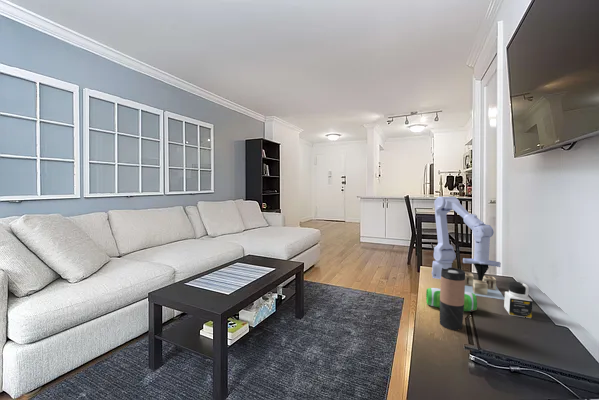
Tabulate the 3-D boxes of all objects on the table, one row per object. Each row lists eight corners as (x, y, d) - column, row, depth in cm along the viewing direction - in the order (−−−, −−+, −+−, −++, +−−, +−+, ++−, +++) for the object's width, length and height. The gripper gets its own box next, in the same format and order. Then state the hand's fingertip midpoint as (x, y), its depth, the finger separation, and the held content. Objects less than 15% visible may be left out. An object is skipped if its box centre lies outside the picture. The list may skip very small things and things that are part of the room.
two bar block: (483, 288, 136) (483, 278, 136) (481, 285, 141) (481, 275, 140) (495, 290, 134) (496, 279, 134) (493, 286, 139) (493, 276, 138)
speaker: (427, 308, 115) (428, 290, 115) (425, 301, 122) (426, 284, 121) (477, 315, 110) (478, 296, 109) (472, 307, 116) (473, 289, 116)
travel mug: (462, 332, 96) (465, 275, 95) (437, 326, 100) (440, 271, 99) (463, 323, 103) (465, 269, 101) (440, 318, 107) (442, 266, 105)
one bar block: (461, 285, 140) (462, 274, 140) (460, 281, 145) (460, 271, 145) (473, 286, 138) (473, 276, 138) (471, 283, 143) (472, 273, 143)
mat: (463, 294, 129) (463, 293, 129) (458, 281, 148) (458, 280, 148) (505, 301, 123) (506, 299, 123) (495, 286, 141) (495, 284, 141)
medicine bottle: (509, 315, 110) (510, 285, 109) (503, 307, 116) (505, 279, 115) (531, 318, 107) (533, 287, 106) (524, 311, 114) (526, 281, 113)
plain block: (474, 293, 130) (474, 282, 129) (472, 289, 134) (473, 279, 134) (487, 295, 128) (487, 284, 127) (484, 291, 132) (485, 280, 132)
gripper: (464, 251, 129) (463, 280, 130) (503, 254, 123) (501, 285, 124) (462, 248, 136) (461, 275, 136) (499, 251, 130) (497, 280, 131)
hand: (480, 280), depth 131 cm, fingers closed
